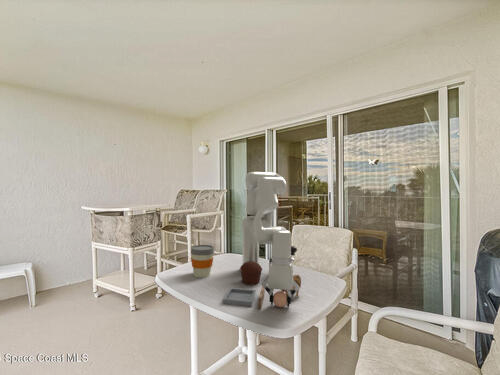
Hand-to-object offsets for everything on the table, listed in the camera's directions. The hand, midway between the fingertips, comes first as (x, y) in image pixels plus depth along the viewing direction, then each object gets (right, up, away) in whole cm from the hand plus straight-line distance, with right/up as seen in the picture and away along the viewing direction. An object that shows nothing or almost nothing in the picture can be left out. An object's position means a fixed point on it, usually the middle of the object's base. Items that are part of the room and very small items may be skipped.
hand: (280, 304), depth 98 cm
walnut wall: (-7, -1, +4) cm, 8 cm away
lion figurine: (+6, -2, +9) cm, 11 cm away
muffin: (-12, -1, +26) cm, 29 cm away
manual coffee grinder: (+7, -2, +35) cm, 36 cm away
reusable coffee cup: (-39, -1, +35) cm, 52 cm away
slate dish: (-17, -1, +7) cm, 18 cm away
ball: (0, -1, 0) cm, 1 cm away
